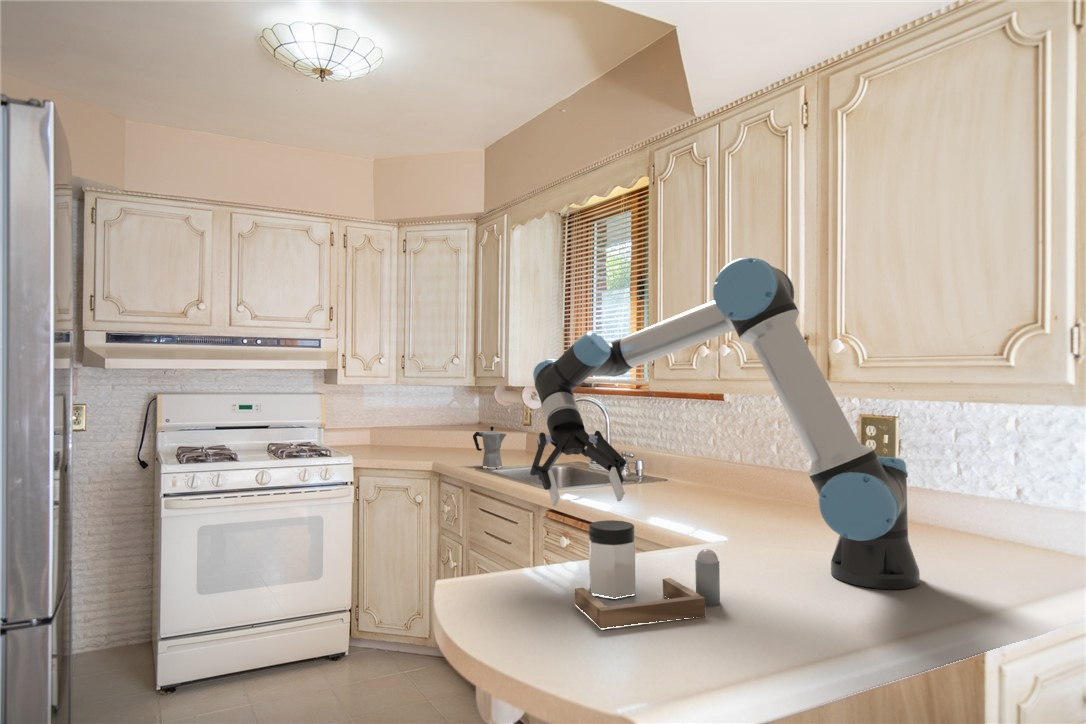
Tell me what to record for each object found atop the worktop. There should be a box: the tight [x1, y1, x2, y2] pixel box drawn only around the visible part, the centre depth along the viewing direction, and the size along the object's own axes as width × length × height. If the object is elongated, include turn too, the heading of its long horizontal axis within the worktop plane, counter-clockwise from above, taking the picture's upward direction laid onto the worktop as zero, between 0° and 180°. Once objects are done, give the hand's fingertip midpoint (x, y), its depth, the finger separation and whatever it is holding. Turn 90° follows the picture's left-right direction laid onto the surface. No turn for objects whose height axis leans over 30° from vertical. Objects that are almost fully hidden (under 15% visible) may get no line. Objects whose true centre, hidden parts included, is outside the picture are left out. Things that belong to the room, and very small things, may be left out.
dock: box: [574, 577, 706, 628], centre depth 110 cm, size 12×18×3 cm, turn 108°
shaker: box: [694, 548, 721, 607], centre depth 114 cm, size 4×4×9 cm
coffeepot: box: [472, 426, 507, 467], centre depth 292 cm, size 15×9×18 cm, turn 75°
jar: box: [588, 520, 637, 598], centre depth 120 cm, size 9×8×12 cm
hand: (589, 499), depth 131 cm, fingers open, 13 cm apart
